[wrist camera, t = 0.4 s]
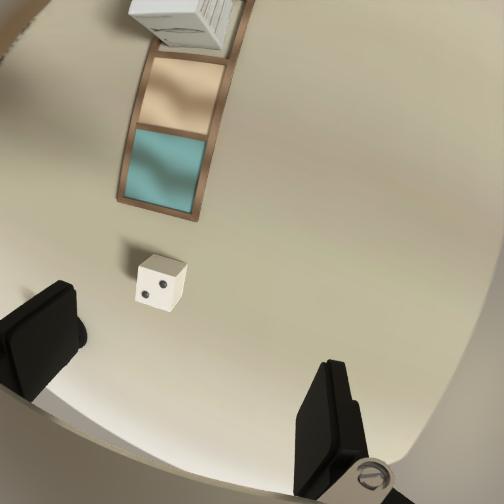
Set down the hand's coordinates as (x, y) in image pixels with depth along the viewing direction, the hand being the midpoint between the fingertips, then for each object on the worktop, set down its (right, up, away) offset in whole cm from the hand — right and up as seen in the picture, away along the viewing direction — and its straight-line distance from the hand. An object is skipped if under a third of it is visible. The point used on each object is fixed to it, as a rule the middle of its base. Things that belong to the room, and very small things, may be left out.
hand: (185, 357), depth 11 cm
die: (-9, 0, +33) cm, 34 cm away
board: (-6, +23, +25) cm, 35 cm away
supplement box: (-4, +33, +22) cm, 40 cm away
